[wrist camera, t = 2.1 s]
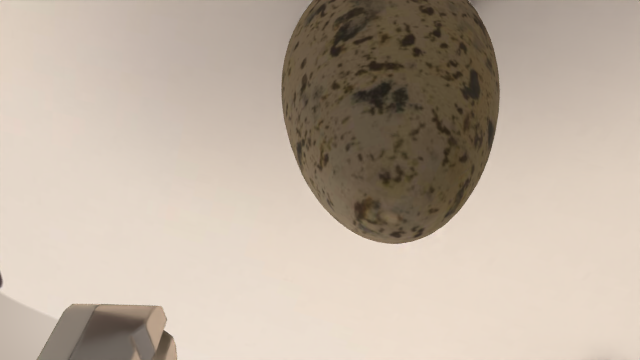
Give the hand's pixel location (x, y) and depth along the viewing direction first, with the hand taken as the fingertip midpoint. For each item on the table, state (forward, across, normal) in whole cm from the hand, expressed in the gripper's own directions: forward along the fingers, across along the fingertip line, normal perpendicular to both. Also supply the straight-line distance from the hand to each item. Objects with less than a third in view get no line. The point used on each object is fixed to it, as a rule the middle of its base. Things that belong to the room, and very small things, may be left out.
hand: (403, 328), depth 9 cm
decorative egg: (+13, 0, 0) cm, 13 cm away
